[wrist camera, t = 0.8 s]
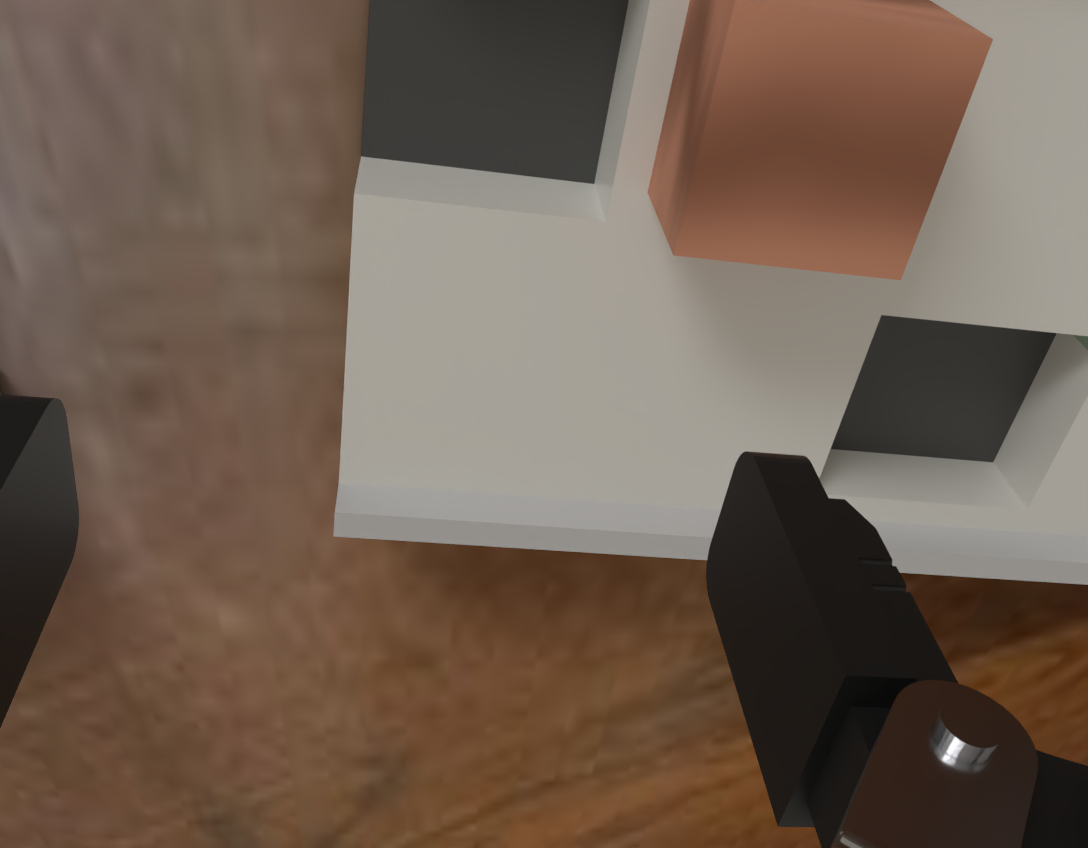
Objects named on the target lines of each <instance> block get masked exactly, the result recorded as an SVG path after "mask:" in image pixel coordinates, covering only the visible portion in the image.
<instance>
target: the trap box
mask: <svg viewBox="0 0 1088 848" xmlns="http://www.w3.org/2000/svg"><path fill="white" fill-rule="evenodd" d="M930 1H932V2H934V3H935V4H937V5H939V6H940V7H942V8H943V9H945V10H947V11H948V12H950V13H951V14H953V15H955V16H956V17H958V18H960V19H961V20H963V21H964V22H966V23H968V24H969V25H971V26H972V27H974V28H976V29H977V30H979V31H981V32H982V33H984V34H985V35H987V36H989V37H990V38H992V39H993V41H992V44H991V46H990V49H989V51H988V54H987V57H986V59H985V62H984V65H983V67H982V70H981V72H980V75H979V78H978V80H977V83H976V85H975V88H974V91H973V93H972V96H971V98H970V101H969V104H968V106H967V109H966V112H965V114H964V117H963V119H962V122H961V125H960V127H959V130H958V132H957V135H956V138H955V140H954V143H953V145H952V148H951V151H950V153H949V156H948V158H947V161H946V164H945V166H944V169H943V172H942V174H941V177H940V179H939V182H938V185H937V187H936V190H935V192H934V195H933V198H932V200H931V203H930V205H929V208H928V211H927V213H926V216H925V219H924V221H923V224H922V226H921V229H920V232H919V234H918V237H917V239H916V242H915V245H914V247H913V250H912V252H911V255H910V258H909V260H908V263H907V265H906V268H905V271H904V273H903V276H902V279H901V280H894V279H885V278H876V277H867V276H857V275H848V274H839V273H830V272H821V271H812V270H802V269H793V268H784V267H775V266H766V265H757V264H747V263H738V262H729V261H720V260H711V259H702V258H692V257H683V256H674V255H673V254H672V251H671V249H670V246H669V244H668V241H667V239H666V236H665V234H664V232H663V229H662V227H661V224H660V222H659V219H658V217H657V214H656V212H655V209H654V207H653V205H652V202H651V200H650V197H649V195H648V188H649V184H650V179H651V175H652V170H653V165H654V161H655V156H656V152H657V147H658V143H659V138H660V134H661V129H662V124H663V120H664V115H665V111H666V106H667V102H668V97H669V93H670V88H671V84H672V79H673V74H674V70H675V65H676V61H677V56H678V52H679V47H680V43H681V38H682V33H683V29H684V24H685V20H686V15H687V11H688V6H689V2H690V0H370V6H369V24H368V42H367V60H366V78H365V96H364V114H363V132H362V150H361V160H360V165H359V170H358V176H357V181H356V186H355V192H354V206H353V225H352V244H351V263H350V282H349V301H348V320H347V339H346V358H345V377H344V396H343V415H342V434H341V452H340V471H339V486H338V493H337V500H336V507H335V519H334V536H336V537H352V538H367V539H383V540H398V541H414V542H430V543H445V544H461V545H476V546H492V547H508V548H523V549H539V550H554V551H570V552H586V553H601V554H617V555H632V556H648V557H664V558H679V559H695V560H707V558H708V552H709V548H710V544H711V541H712V537H713V534H714V531H715V528H716V524H717V521H718V518H719V515H720V512H721V508H722V505H723V502H724V499H725V496H726V492H727V489H728V486H729V483H730V479H731V476H732V473H733V470H734V467H735V464H736V462H737V460H738V458H739V456H740V455H741V454H742V453H743V452H745V451H747V452H761V453H775V454H788V455H802V456H806V457H807V458H808V459H809V460H810V462H811V463H812V465H813V467H814V469H815V471H816V473H817V475H818V477H819V479H820V482H821V484H822V486H823V488H824V490H825V492H826V494H827V496H828V498H833V499H845V500H846V501H847V502H848V503H849V504H851V505H852V506H853V507H854V508H855V509H856V510H857V511H858V512H859V513H860V514H861V515H862V516H863V517H864V518H865V519H867V520H868V521H869V522H870V523H871V524H872V525H873V526H874V527H875V528H876V529H877V531H878V533H879V535H880V537H881V539H882V541H883V543H884V544H885V546H886V548H887V550H888V552H889V554H890V556H891V558H892V560H893V561H892V566H896V567H897V569H898V571H899V573H913V574H929V575H945V576H960V577H976V578H991V579H1007V580H1023V581H1038V582H1054V583H1069V584H1085V585H1088V0H930Z"/></svg>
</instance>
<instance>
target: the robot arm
mask: <svg viewBox="0 0 1088 848" xmlns="http://www.w3.org/2000/svg"><path fill="white" fill-rule="evenodd" d="M78 526H79V509H78V500H77V493H76V485H75V477H74V470H73V462H72V455H71V447H70V439H69V432H68V424H67V417H66V412H65V408H64V406H63V403H62V402H61V401H60V400H59V399H54V398H41V397H27V396H14V395H0V727H1V725H2V723H3V720H4V718H5V716H6V713H7V711H8V709H9V706H10V704H11V702H12V699H13V697H14V695H15V692H16V690H17V688H18V685H19V683H20V681H21V679H22V676H23V674H24V672H25V669H26V667H27V665H28V662H29V660H30V658H31V655H32V653H33V651H34V648H35V646H36V644H37V641H38V639H39V637H40V634H41V632H42V630H43V627H44V625H45V623H46V620H47V618H48V616H49V613H50V611H51V609H52V606H53V604H54V602H55V600H56V597H57V595H58V593H59V590H60V588H61V586H62V583H63V581H64V579H65V576H66V574H67V572H68V569H69V567H70V564H71V562H72V559H73V556H74V552H75V548H76V542H77V536H78ZM892 561H893V560H892V558H891V556H890V554H889V552H888V550H887V548H886V546H885V544H884V543H883V541H882V539H881V537H880V535H879V533H878V531H877V529H876V528H875V527H874V526H873V525H872V524H871V523H870V522H869V521H868V520H867V519H865V518H864V517H863V516H862V515H861V514H860V513H859V512H858V511H857V510H856V509H855V508H854V507H853V506H852V505H851V504H849V503H848V502H847V501H846V500H845V499H833V498H828V496H827V494H826V492H825V490H824V488H823V486H822V484H821V482H820V479H819V477H818V475H817V473H816V471H815V469H814V467H813V465H812V463H811V462H810V460H809V459H808V458H807V457H806V456H802V455H788V454H775V453H761V452H747V451H745V452H743V453H742V454H741V455H740V456H739V458H738V460H737V462H736V464H735V467H734V470H733V473H732V476H731V479H730V483H729V486H728V489H727V492H726V496H725V499H724V502H723V505H722V508H721V512H720V515H719V518H718V521H717V524H716V528H715V531H714V534H713V537H712V541H711V544H710V548H709V552H708V558H707V570H706V578H707V590H708V596H709V600H710V603H711V607H712V610H713V613H714V617H715V620H716V623H717V626H718V630H719V633H720V636H721V640H722V643H723V646H724V650H725V653H726V656H727V660H728V663H729V666H730V669H731V673H732V676H733V679H734V683H735V686H736V689H737V693H738V696H739V699H740V703H741V706H742V709H743V712H744V716H745V719H746V722H747V726H748V729H749V732H750V736H751V739H752V742H753V746H754V749H755V752H756V755H757V759H758V762H759V765H760V769H761V772H762V775H763V779H764V782H765V785H766V789H767V792H768V795H769V799H770V802H771V805H772V808H773V812H774V815H775V818H776V822H777V825H778V826H779V827H815V829H816V832H817V835H818V838H819V841H820V844H821V847H822V848H1088V766H1085V765H1082V764H1079V763H1075V762H1072V761H1069V760H1065V759H1062V758H1059V757H1055V756H1052V755H1049V754H1046V753H1043V752H1040V751H1038V750H1036V749H1035V747H1034V744H1033V742H1032V740H1031V738H1030V736H1029V735H1028V733H1027V732H1026V730H1025V729H1024V728H1023V726H1022V725H1021V724H1020V722H1019V721H1018V720H1017V719H1016V718H1015V717H1014V716H1013V715H1012V714H1011V713H1010V712H1009V711H1007V710H1006V709H1005V708H1004V707H1003V706H1001V705H1000V704H999V703H997V702H996V701H994V700H993V699H991V698H990V697H988V696H986V695H984V694H982V693H981V692H979V691H977V690H974V689H972V688H969V687H967V686H964V685H961V684H958V682H957V680H956V678H955V676H954V674H953V672H952V671H951V669H950V667H949V665H948V663H947V661H946V659H945V657H944V656H943V654H942V652H941V650H940V648H939V646H938V644H937V642H936V640H935V639H934V637H933V635H932V633H931V631H930V629H929V627H928V625H927V624H926V622H925V620H924V618H923V616H922V614H921V612H920V610H919V608H918V607H917V605H916V603H915V601H914V599H913V597H912V595H911V593H908V592H906V584H905V582H904V580H903V578H902V576H901V575H900V573H899V571H898V569H897V567H896V566H892Z"/></svg>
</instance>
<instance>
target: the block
mask: <svg viewBox="0 0 1088 848" xmlns="http://www.w3.org/2000/svg"><path fill="white" fill-rule="evenodd" d="M992 41H993V39H992V38H990V37H989V36H987V35H985V34H984V33H982V32H981V31H979V30H977V29H976V28H974V27H972V26H971V25H969V24H968V23H966V22H964V21H963V20H961V19H960V18H958V17H956V16H955V15H953V14H951V13H950V12H948V11H947V10H945V9H943V8H942V7H940V6H939V5H937V4H935V3H934V2H932V1H930V0H690V2H689V6H688V11H687V15H686V20H685V24H684V29H683V33H682V38H681V43H680V47H679V52H678V56H677V61H676V65H675V70H674V74H673V79H672V84H671V88H670V93H669V97H668V102H667V106H666V111H665V115H664V120H663V124H662V129H661V134H660V138H659V143H658V147H657V152H656V156H655V161H654V165H653V170H652V175H651V179H650V184H649V188H648V195H649V197H650V200H651V202H652V205H653V207H654V209H655V212H656V214H657V217H658V219H659V222H660V224H661V227H662V229H663V232H664V234H665V236H666V239H667V241H668V244H669V246H670V249H671V251H672V254H673V255H674V256H683V257H692V258H702V259H711V260H720V261H729V262H738V263H747V264H757V265H766V266H775V267H784V268H793V269H802V270H812V271H821V272H830V273H839V274H848V275H857V276H867V277H876V278H885V279H894V280H901V279H902V276H903V273H904V271H905V268H906V265H907V263H908V260H909V258H910V255H911V252H912V250H913V247H914V245H915V242H916V239H917V237H918V234H919V232H920V229H921V226H922V224H923V221H924V219H925V216H926V213H927V211H928V208H929V205H930V203H931V200H932V198H933V195H934V192H935V190H936V187H937V185H938V182H939V179H940V177H941V174H942V172H943V169H944V166H945V164H946V161H947V158H948V156H949V153H950V151H951V148H952V145H953V143H954V140H955V138H956V135H957V132H958V130H959V127H960V125H961V122H962V119H963V117H964V114H965V112H966V109H967V106H968V104H969V101H970V98H971V96H972V93H973V91H974V88H975V85H976V83H977V80H978V78H979V75H980V72H981V70H982V67H983V65H984V62H985V59H986V57H987V54H988V51H989V49H990V46H991V44H992Z"/></svg>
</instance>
